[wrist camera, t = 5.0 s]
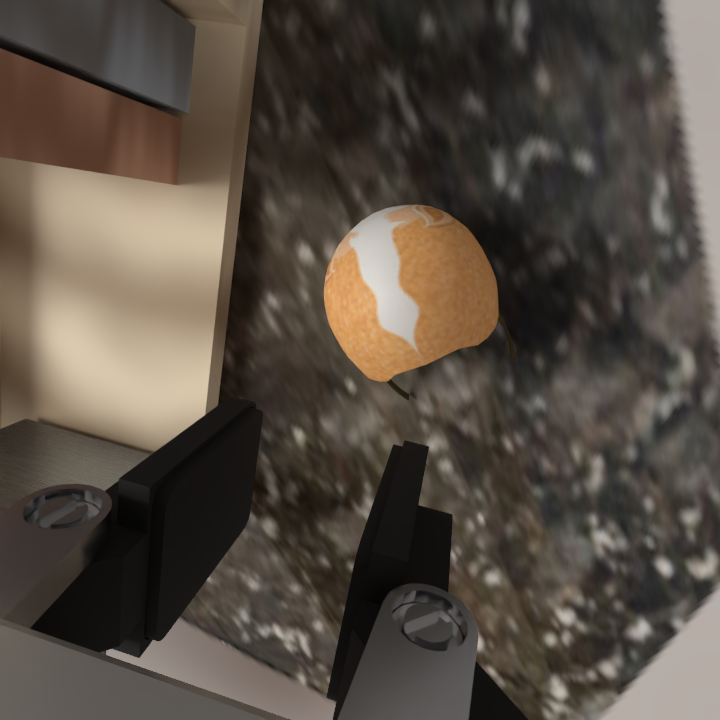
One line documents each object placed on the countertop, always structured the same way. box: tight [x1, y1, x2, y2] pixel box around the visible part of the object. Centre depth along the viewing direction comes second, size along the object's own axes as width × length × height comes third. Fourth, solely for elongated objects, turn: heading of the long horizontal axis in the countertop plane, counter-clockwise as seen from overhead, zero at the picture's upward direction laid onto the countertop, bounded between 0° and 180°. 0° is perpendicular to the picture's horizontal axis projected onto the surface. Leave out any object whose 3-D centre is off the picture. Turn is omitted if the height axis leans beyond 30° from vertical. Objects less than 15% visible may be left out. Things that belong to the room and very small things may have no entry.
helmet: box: [324, 205, 514, 400], centre depth 19 cm, size 6×7×8 cm
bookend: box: [0, 419, 151, 514], centre depth 21 cm, size 2×8×7 cm, turn 79°
